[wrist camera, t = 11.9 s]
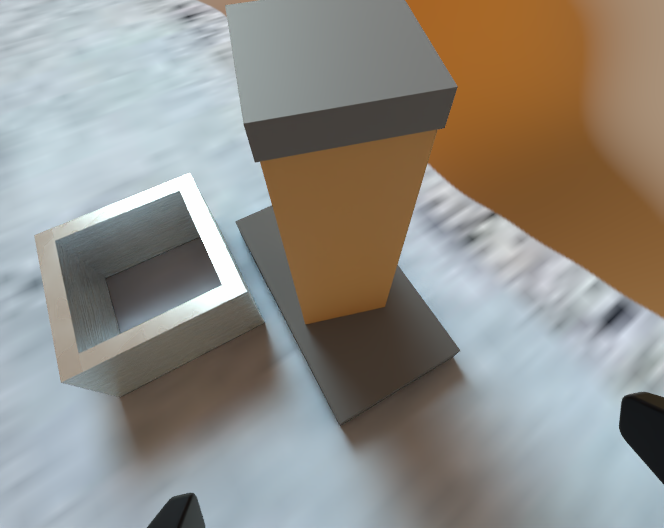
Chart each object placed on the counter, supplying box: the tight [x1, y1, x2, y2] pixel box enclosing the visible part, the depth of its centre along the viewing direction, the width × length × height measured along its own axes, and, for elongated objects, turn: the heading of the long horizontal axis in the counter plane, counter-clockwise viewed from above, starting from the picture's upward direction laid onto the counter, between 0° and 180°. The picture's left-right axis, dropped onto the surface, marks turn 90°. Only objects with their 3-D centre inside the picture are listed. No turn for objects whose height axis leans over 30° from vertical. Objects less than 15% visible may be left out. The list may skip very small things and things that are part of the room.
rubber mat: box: [236, 206, 460, 426], centre depth 19 cm, size 12×6×1 cm, turn 29°
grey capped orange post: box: [226, 0, 457, 325], centre depth 13 cm, size 4×4×12 cm
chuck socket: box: [34, 173, 264, 397], centre depth 18 cm, size 8×8×4 cm
